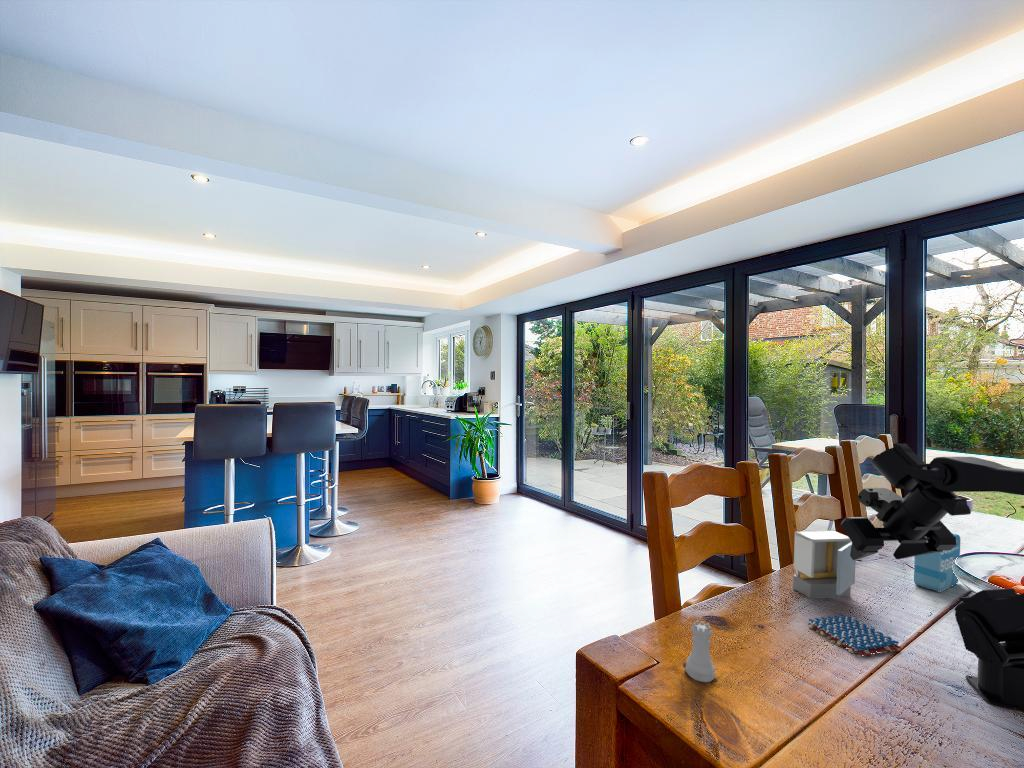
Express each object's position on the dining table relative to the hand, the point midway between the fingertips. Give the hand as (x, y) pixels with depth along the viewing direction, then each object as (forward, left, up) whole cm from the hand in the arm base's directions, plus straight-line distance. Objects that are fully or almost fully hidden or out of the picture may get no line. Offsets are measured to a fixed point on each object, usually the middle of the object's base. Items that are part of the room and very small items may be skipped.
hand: (873, 557), depth 92 cm
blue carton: (+26, -21, -13) cm, 35 cm away
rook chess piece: (-33, +32, -13) cm, 48 cm away
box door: (+5, +3, -9) cm, 11 cm away
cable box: (+9, +6, -12) cm, 17 cm away
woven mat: (-10, +6, -13) cm, 18 cm away
